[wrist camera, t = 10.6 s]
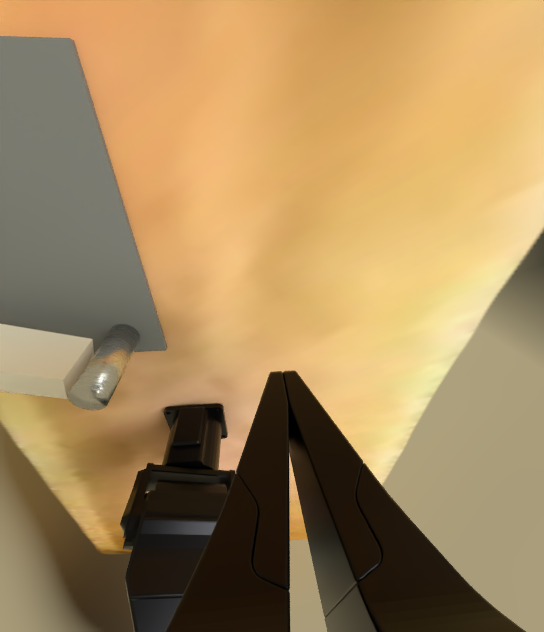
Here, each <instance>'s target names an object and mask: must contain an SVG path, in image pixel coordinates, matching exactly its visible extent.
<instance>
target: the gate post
mask: <svg viewBox="0 0 544 632" xmlns="http://www.w3.org/2000/svg"><path fill="white" fill-rule="evenodd" d="M139 340H140V334H139V332H138V331H137V330H136V329H135V328H134V327H132V326H130V325H126V324H117V325H115V326H113V327H112V328H111V330H110V331H109V333H108V334H107V336H106V337H105V339H104V340H103V342H102V343H101V345H100V346H99V348H98V349H97V351H96V352H95V354H94V355H93V357H92V358H91V360H90V361H89V363H88V364H87V366H86V367H85V369H84V370H83V372H82V373H81V375H80V376H79V378H78V379H77V381H76V382H75V384H74V385H73V387H72V388H71V390H70V391H69V393H68V399H69V401H70V402H71V403H72V404H74V405H75V406H77V407H80V408H83V409H87V410H99V409H103V408H105V407H106V406H107V404H108V402H109V400H110V398H111V396H112V394H113V392H114V390H115V388H116V386H117V384H118V382H119V380H120V378H121V376H122V374H123V372H124V370H125V368H126V366H127V364H128V362H129V360H130V358H131V356H132V354H133V352H134V350H135V348H136V346H137V344H138V342H139Z"/></svg>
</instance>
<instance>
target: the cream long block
mask: <svg viewBox="0 0 544 632" xmlns="http://www.w3.org/2000/svg"><path fill="white" fill-rule="evenodd" d="M93 355H94V350H93V339H90V338H84V337H78V336H72V335H66V334H60V333H54V332H48V331H41V330H35V329H29V328H23V327H17V326H11V325H5V324H0V391H1V392H10V393H19V394H27V395H36V396H45V397H54V398H63V399H67V398H68V393H69V391H70V390H71V388H72V387H73V385H74V384H75V382H76V381H77V379H78V378H79V376H80V375H81V373H82V372H83V370H84V369H85V367H86V366H87V364H88V363H89V361H90V360H91V358H92V357H93Z"/></svg>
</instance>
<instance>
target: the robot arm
mask: <svg viewBox="0 0 544 632" xmlns="http://www.w3.org/2000/svg"><path fill="white" fill-rule="evenodd" d="M164 415H165V417H166V420H167V422H168V425H169V427H170V430H171V431H170V435H169V439H168V443H167V447H166V451H165V455H164V459H163V463H162V465H154V463H148V464H147V467H146V469H144V470H141V471H138V474H137V477H136V480H135V483H134V486H133V490H132V492H131V495H130V498H129V500H128V503H127V506H126V509H125V511H124V514H123V517H122V520H121V523H120V525H121V527H122V529H123V531H124V537H123V538H125V542H124V546H123V550H132V553H131V557H130V561H129V565H128V568H127V572H126V588H127V594H128V599H129V605H130V610H131V616H132V621H133V627H134V632H290V593H289V588H290V565H289V564H290V562H289V561H290V560H289V559H290V557H289V554H290V551H289V453H290V458H291V462H292V467H293V472H294V476H295V481H296V486H297V491H298V495H299V500H300V505H301V509H302V514H303V519H304V523H305V528H306V533H307V538H308V542H309V547H310V552H311V556H312V561H313V566H314V570H315V575H316V579H317V584H318V589H319V593H320V599H321V603H322V608H323V613H324V616H325V622H326V627H327V632H526V631H524V630H523V629H522V628H520V627H519V626H518V625H516V624H515V623H514V622H512V621H511V620H510V619H508V618H507V617H506V616H504V615H503V614H502V613H501V612H499V611H498V610H497V609H496V608H494V607H493V606H492V605H491V604H490V603H489V602H487V601H486V600H485V599H484V598H483V597H482V596H481V595H480V594H479V593H478V592H476V591H475V590H474V589H473V588H472V587H471V586H470V585H469V584H468V583H467V582H466V581H465V580H464V578H463V577H461V575H460V574H459V573H458V572H457V571H456V570H455V569H454V567H453V566H452V565H451V564H450V563H449V562H448V561H447V560H446V559H445V558H444V556H443V555H442V554H441V553H440V552H439V551H438V550H437V548H436V547H435V546H434V545H433V544H432V543H431V542H430V541H429V540H428V539H427V537H425V535H424V534H423V533H422V532H421V531H420V530H419V528H418V527H417V526H416V525H415V524H414V523H413V522H412V521H411V520H410V518H409V517H408V516H407V515H406V514H405V513H404V512H403V510H402V509H401V508H400V507H399V506H398V505H397V503H396V502H395V501H394V500H393V499H392V498H391V497H390V495H389V494H388V493H387V491H386V490H385V489H384V488H383V486H382V485H381V484H380V483H379V481H378V480H377V479H376V477H375V476H374V475H373V473H372V472H371V471H370V469H369V468H368V467H367V465H366V464H365V463H364V464H363V460H362V459H361V458H360V456H359V455H358V454H357V452H356V451H355V450H354V448H353V447H352V446H351V444H350V443H349V442H348V440H347V439H346V438H345V436H344V435H343V434H342V432H341V431H340V429H339V428H338V427H337V425H336V424H335V423H334V421H333V420H332V419H331V417H330V416H329V415H328V413H327V412H326V411H325V409H324V408H323V407H322V405H321V404H320V403H319V401H318V400H317V399H316V397H315V396H314V395H313V393H312V392H311V391H310V389H309V388H308V387H307V385H306V384H305V383H304V381H303V380H302V379H301V377H300V376H299V375H298V373H297V372H296V371H284V372H281V371H277V372H270V374H269V377H268V380H267V383H266V386H265V389H264V391H263V394H262V397H261V400H260V403H259V406H258V409H257V412H256V415H255V418H254V421H253V424H252V426H251V429H250V432H249V435H248V438H247V441H246V444H245V447H244V450H243V453H242V456H241V459H240V462H239V464H238V467H237V470H236V474H235V470H230V471H224V470H218V468H219V456H220V444H221V439H223V438H227V434H228V433H227V427H226V421H225V414H224V408H223V405H221V404H214V405H197V406H181V407H167V408H165V410H164ZM147 491H149V492H148V493H147Z"/></svg>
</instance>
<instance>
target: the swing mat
mask: <svg viewBox="0 0 544 632" xmlns="http://www.w3.org/2000/svg"><path fill="white" fill-rule="evenodd" d="M0 324H5V325H11V326H17V327H23V328H29V329H35V330H41V331H48V332H54V333H60V334H66V335H72V336H78V337H84V338H90V339H93V350H94V354H95V352H96V351H97V349H98V348H99V346H100V345H101V343H102V342H103V340H104V339H105V337H106V336H107V334H108V333H109V331H110V330H111V328H112V327H113V326H115V325H117V324H126V325H130V326H132V327H134V328H135V329H136V330H137V331H138V332H139V334H140V340H139V342H138V344H137V346H136V348H135V350H134V352H140V351H161V350H166V349H167V345H166V341H165V338H164V335H163V332H162V328H161V325H160V322H159V319H158V315H157V312H156V309H155V305H154V302H153V299H152V296H151V292H150V289H149V286H148V282H147V279H146V276H145V273H144V269H143V266H142V263H141V259H140V256H139V253H138V250H137V246H136V243H135V240H134V236H133V233H132V230H131V227H130V223H129V220H128V217H127V213H126V210H125V207H124V204H123V200H122V197H121V194H120V190H119V187H118V184H117V181H116V177H115V174H114V171H113V167H112V164H111V161H110V158H109V154H108V151H107V148H106V145H105V141H104V138H103V135H102V131H101V128H100V125H99V122H98V118H97V115H96V112H95V108H94V105H93V102H92V99H91V95H90V92H89V89H88V85H87V82H86V79H85V76H84V72H83V69H82V66H81V62H80V59H79V56H78V53H77V49H76V46H75V43H74V40H72V39H70V38H42V37H11V36H0Z"/></svg>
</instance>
